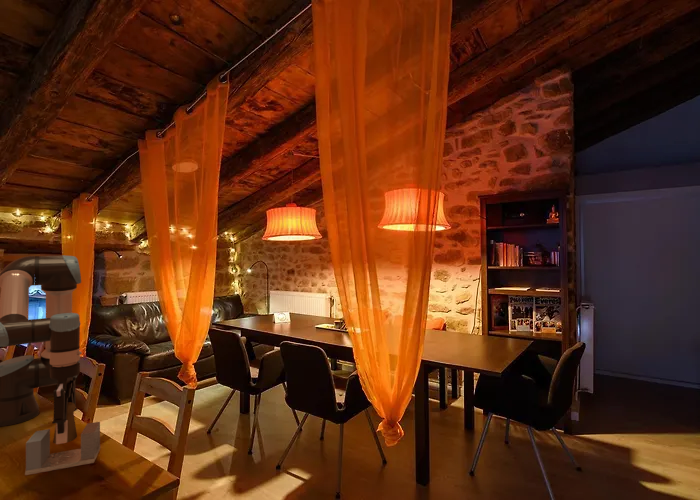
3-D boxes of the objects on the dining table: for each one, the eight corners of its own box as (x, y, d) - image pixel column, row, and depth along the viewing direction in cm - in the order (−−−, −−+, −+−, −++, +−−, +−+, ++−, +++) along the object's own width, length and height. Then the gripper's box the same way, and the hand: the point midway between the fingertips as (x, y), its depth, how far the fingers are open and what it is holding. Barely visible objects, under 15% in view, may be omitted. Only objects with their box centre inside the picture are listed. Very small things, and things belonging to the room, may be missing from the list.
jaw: (36, 456, 119) (36, 431, 119) (49, 454, 120) (49, 429, 120) (25, 470, 112) (25, 442, 112) (40, 467, 113) (40, 440, 113)
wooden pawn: (80, 437, 120) (80, 402, 120) (58, 445, 114) (58, 408, 115) (71, 432, 123) (71, 398, 123) (49, 440, 118) (49, 405, 118)
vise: (36, 459, 119) (36, 430, 120) (100, 448, 126) (100, 421, 126) (25, 475, 111) (25, 443, 111) (94, 462, 118) (94, 432, 118)
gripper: (70, 370, 112) (70, 449, 111) (87, 354, 129) (87, 423, 129) (39, 373, 109) (39, 455, 108) (60, 357, 126) (60, 427, 126)
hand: (65, 437), depth 119 cm, fingers closed on wooden pawn, 6 cm apart
